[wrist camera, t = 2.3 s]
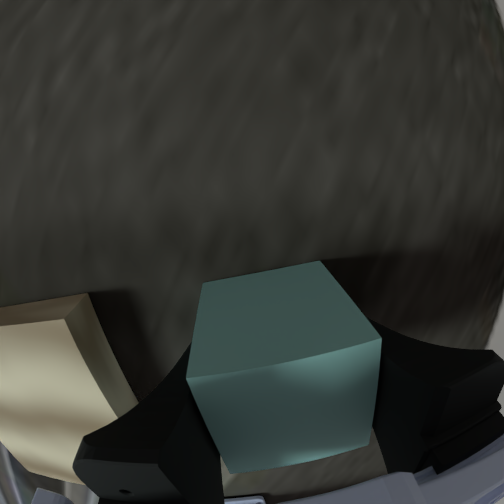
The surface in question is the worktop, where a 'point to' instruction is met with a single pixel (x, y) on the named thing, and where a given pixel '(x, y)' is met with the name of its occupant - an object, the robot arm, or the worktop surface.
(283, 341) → the teal block
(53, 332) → the birch base board
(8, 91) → the worktop surface
